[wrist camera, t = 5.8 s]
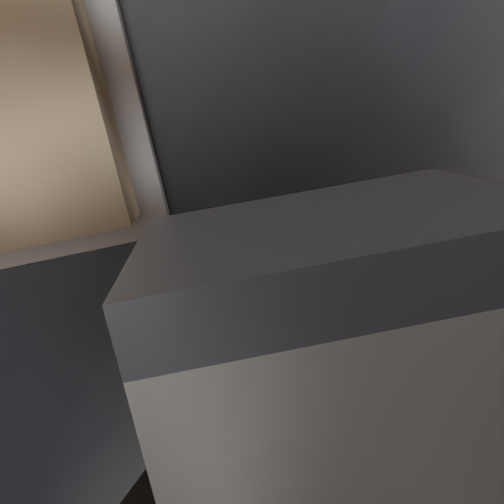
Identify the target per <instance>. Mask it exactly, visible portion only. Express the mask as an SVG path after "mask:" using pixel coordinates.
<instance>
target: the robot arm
mask: <svg viewBox="0 0 504 504" xmlns="http://www.w3.org/2000/svg"><path fill="white" fill-rule="evenodd" d="M120 504H156V503H155V499H154V495H153V492H152V488H151V484H150V481H149V477H148V473H147V470H146V469H145V471H144V472H143V473H142V475H141V476H140V477H139V479H138V480H137V482H136V483H135V484H134V486H133V487H132V488H131V490H130V491H129V492H128V494H127V495H126V496H125V498H124V499H123V500H122V502H121V503H120Z"/></svg>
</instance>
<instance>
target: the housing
mask: <svg viewBox="0 0 504 504" xmlns="http://www.w3.org/2000/svg"><path fill="white" fill-rule="evenodd" d="M102 307H103V311H104V315H105V318H106V322H107V326H108V329H109V333H110V337H111V340H112V344H113V348H114V352H115V355H116V359H117V363H118V366H119V370H120V374H121V377H122V381H123V385H124V388H125V392H126V396H127V400H128V403H129V407H130V411H131V414H132V418H133V422H134V425H135V429H136V433H137V436H138V440H139V444H140V447H141V451H142V455H143V459H144V462H145V466H146V470H147V473H148V477H149V481H150V484H151V488H152V492H153V495H154V499H155V503H156V504H504V183H503V182H498V181H493V180H487V179H482V178H477V177H472V176H467V175H462V174H457V173H452V172H447V171H442V170H436V169H426V170H420V171H415V172H409V173H403V174H398V175H392V176H387V177H381V178H376V179H370V180H365V181H359V182H353V183H348V184H342V185H337V186H331V187H326V188H320V189H315V190H309V191H303V192H298V193H292V194H287V195H281V196H276V197H270V198H264V199H259V200H253V201H248V202H242V203H237V204H231V205H226V206H220V207H214V208H209V209H203V210H198V211H192V212H187V213H181V214H176V215H170V216H164V217H159V218H153V219H150V220H149V222H148V224H147V225H146V227H145V229H144V231H143V233H142V234H141V236H140V238H139V240H138V242H137V243H136V245H135V247H134V249H133V251H132V252H131V254H130V256H129V258H128V260H127V261H126V263H125V265H124V267H123V269H122V270H121V272H120V274H119V276H118V278H117V279H116V281H115V283H114V285H113V287H112V288H111V290H110V292H109V294H108V296H107V297H106V299H105V301H104V303H103V305H102Z"/></svg>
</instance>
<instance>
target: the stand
mask: <svg viewBox="0 0 504 504" xmlns="http://www.w3.org/2000/svg"><path fill="white" fill-rule="evenodd" d="M164 216H170V213H169V209H168V205H167V201H166V197H165V193H164V189H163V185H162V180H161V176H160V172H159V168H158V164H157V160H156V156H155V152H154V147H153V143H152V139H151V135H150V131H149V127H148V123H147V118H146V114H145V110H144V106H143V102H142V98H141V94H140V90H139V85H138V81H137V77H136V73H135V69H134V65H133V61H132V56H131V52H130V48H129V44H128V40H127V36H126V32H125V28H124V23H123V19H122V15H121V11H120V7H119V3H118V0H0V269H4V268H9V267H14V266H19V265H24V264H29V263H33V262H38V261H43V260H48V259H53V258H58V257H62V256H67V255H72V254H77V253H82V252H87V251H91V250H96V249H101V248H106V247H111V246H116V245H120V244H125V243H130V242H135V241H138V240H139V238H140V236H141V234H142V233H143V231H144V229H145V227H146V225H147V224H148V222H149V220H150V219H153V218H159V217H164Z"/></svg>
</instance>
